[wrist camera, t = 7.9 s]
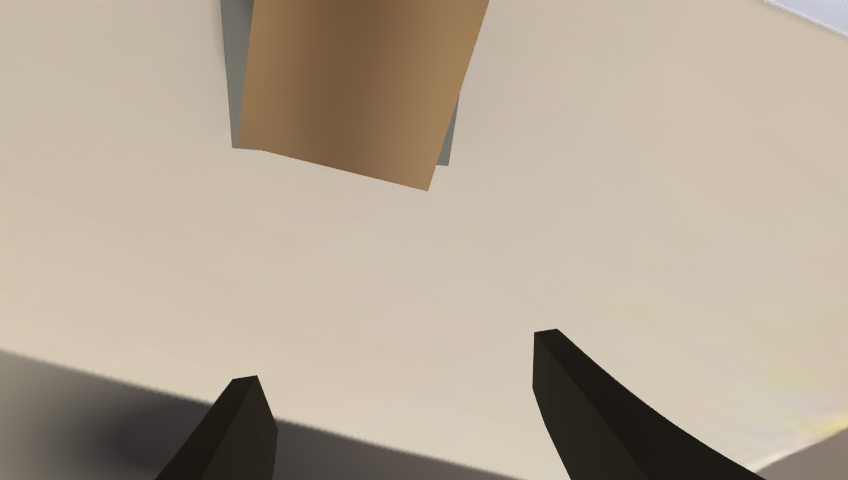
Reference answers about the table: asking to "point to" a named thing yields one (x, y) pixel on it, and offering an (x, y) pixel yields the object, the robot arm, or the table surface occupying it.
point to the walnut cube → (357, 82)
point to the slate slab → (236, 44)
